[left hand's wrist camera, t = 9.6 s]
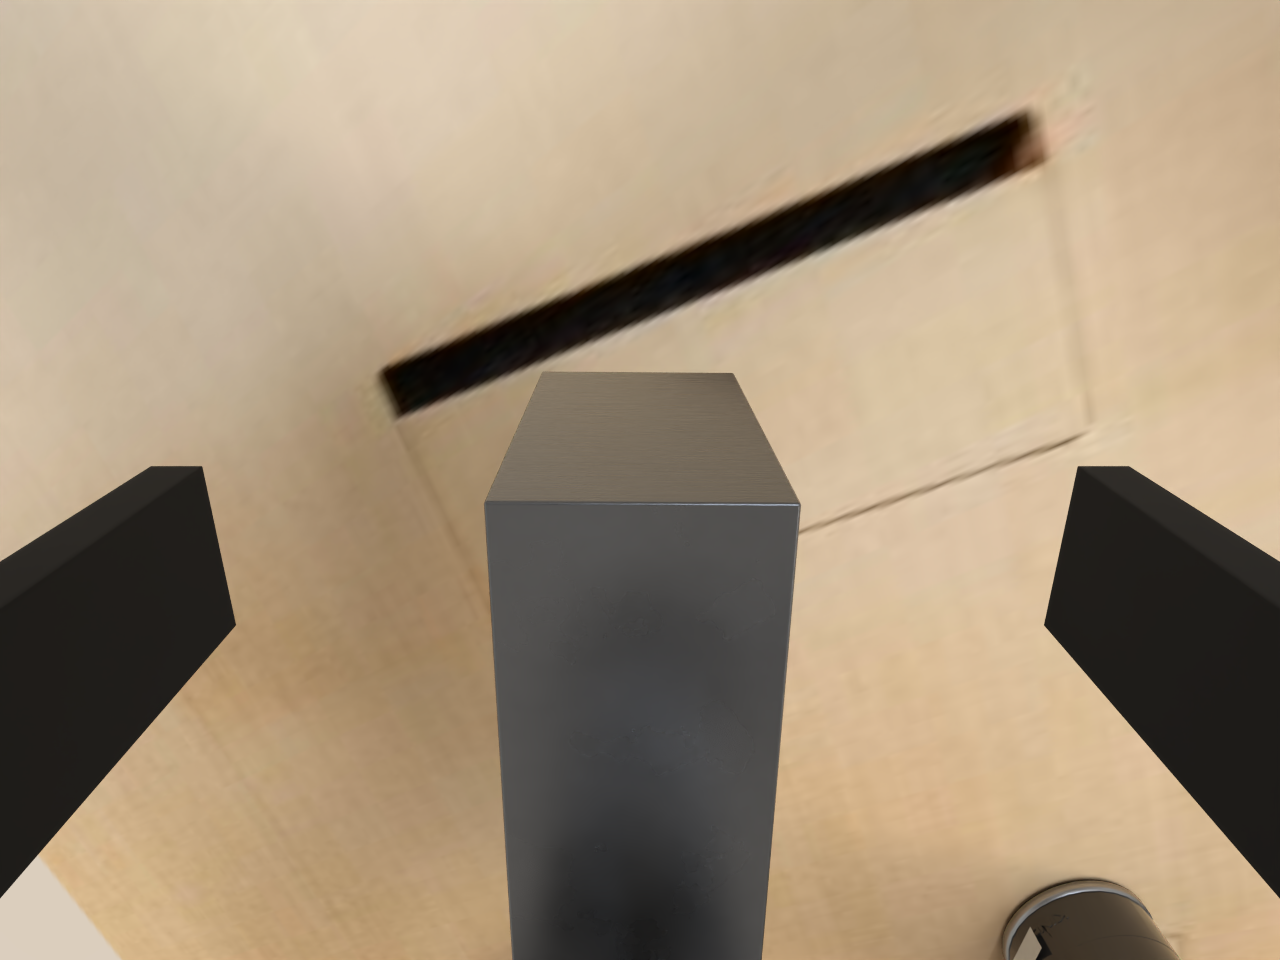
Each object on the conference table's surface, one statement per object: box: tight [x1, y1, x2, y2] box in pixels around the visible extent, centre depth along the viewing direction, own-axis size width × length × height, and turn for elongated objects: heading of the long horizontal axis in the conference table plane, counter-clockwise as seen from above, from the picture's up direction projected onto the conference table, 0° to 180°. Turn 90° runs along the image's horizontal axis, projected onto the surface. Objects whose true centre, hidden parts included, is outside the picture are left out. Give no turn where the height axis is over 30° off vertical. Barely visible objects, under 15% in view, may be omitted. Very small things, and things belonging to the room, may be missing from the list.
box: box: [484, 372, 801, 960], centre depth 24 cm, size 25×6×11 cm, turn 0°
